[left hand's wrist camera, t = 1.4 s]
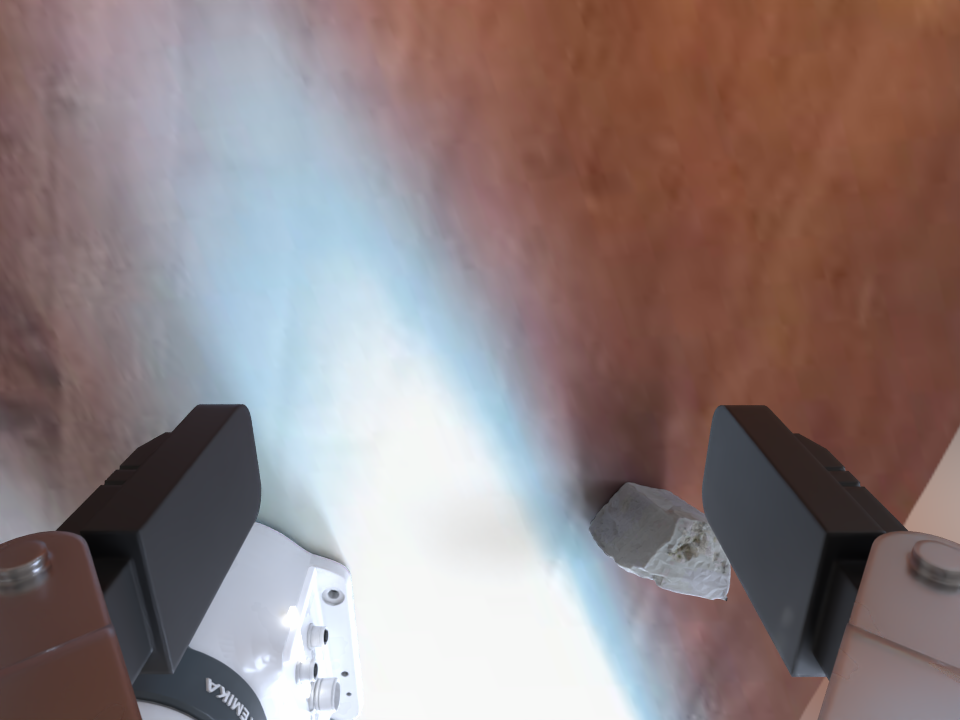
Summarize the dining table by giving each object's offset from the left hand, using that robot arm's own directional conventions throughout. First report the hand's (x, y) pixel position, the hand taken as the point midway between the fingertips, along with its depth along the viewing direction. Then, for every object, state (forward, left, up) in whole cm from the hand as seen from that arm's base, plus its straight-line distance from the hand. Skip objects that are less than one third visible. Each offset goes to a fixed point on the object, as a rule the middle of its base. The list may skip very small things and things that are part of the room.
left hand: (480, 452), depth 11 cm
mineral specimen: (+21, +12, -29) cm, 38 cm away
